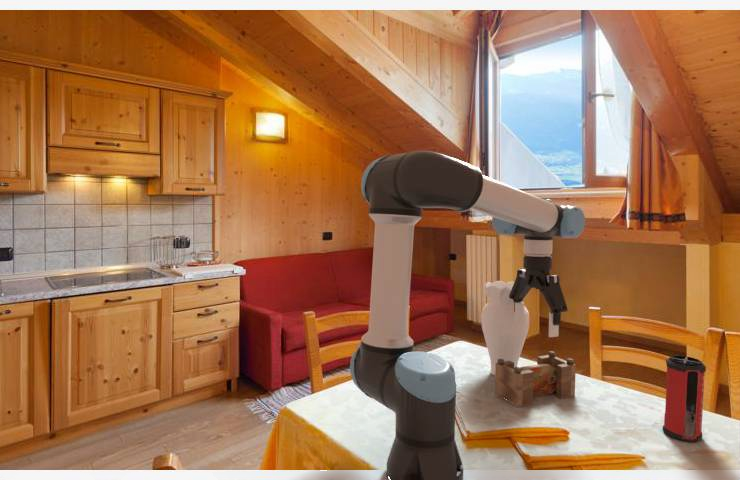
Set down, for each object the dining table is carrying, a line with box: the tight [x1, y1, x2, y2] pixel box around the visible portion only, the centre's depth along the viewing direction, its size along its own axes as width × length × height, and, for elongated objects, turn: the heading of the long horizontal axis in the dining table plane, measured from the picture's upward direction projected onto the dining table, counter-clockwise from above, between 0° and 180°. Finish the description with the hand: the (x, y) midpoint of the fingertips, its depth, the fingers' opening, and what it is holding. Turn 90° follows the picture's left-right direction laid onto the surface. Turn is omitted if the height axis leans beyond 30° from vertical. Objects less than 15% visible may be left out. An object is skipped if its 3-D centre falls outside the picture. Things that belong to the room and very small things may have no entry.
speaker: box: [662, 355, 707, 443], centre depth 107 cm, size 8×8×18 cm
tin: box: [519, 364, 557, 398], centre depth 131 cm, size 15×3×8 cm, turn 107°
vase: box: [480, 280, 530, 377], centre depth 146 cm, size 15×15×29 cm
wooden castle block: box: [494, 350, 577, 408], centre depth 130 cm, size 10×20×10 cm, turn 112°
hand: (535, 330), depth 129 cm, fingers open, 13 cm apart
